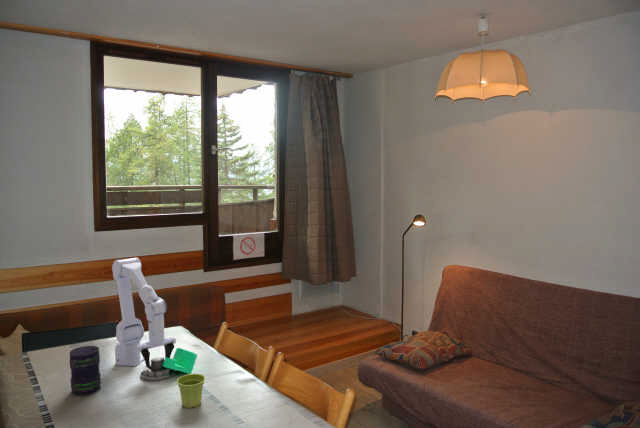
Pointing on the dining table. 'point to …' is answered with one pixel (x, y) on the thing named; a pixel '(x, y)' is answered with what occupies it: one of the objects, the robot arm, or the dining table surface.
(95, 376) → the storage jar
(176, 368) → the camera mount
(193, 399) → the plant pot
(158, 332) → the robot arm
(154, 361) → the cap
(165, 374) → the grey knurled ring
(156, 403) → the dining table surface
